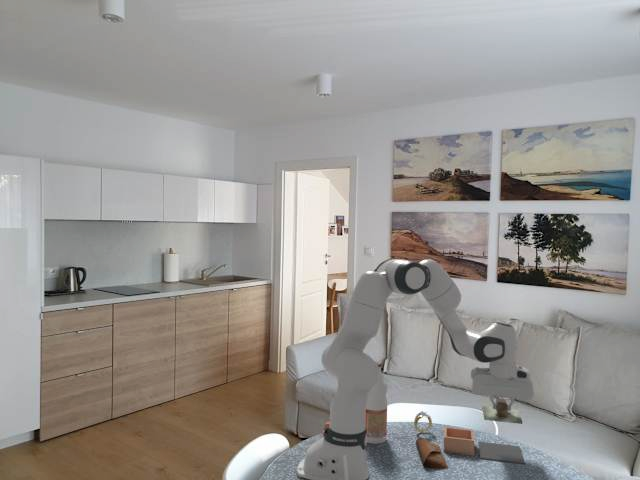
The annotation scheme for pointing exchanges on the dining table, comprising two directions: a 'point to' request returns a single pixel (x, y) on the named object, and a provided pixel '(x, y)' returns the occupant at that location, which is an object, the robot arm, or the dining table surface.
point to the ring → (420, 418)
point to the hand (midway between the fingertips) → (501, 409)
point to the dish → (458, 441)
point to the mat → (500, 452)
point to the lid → (501, 413)
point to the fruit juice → (377, 411)
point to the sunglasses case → (430, 454)
